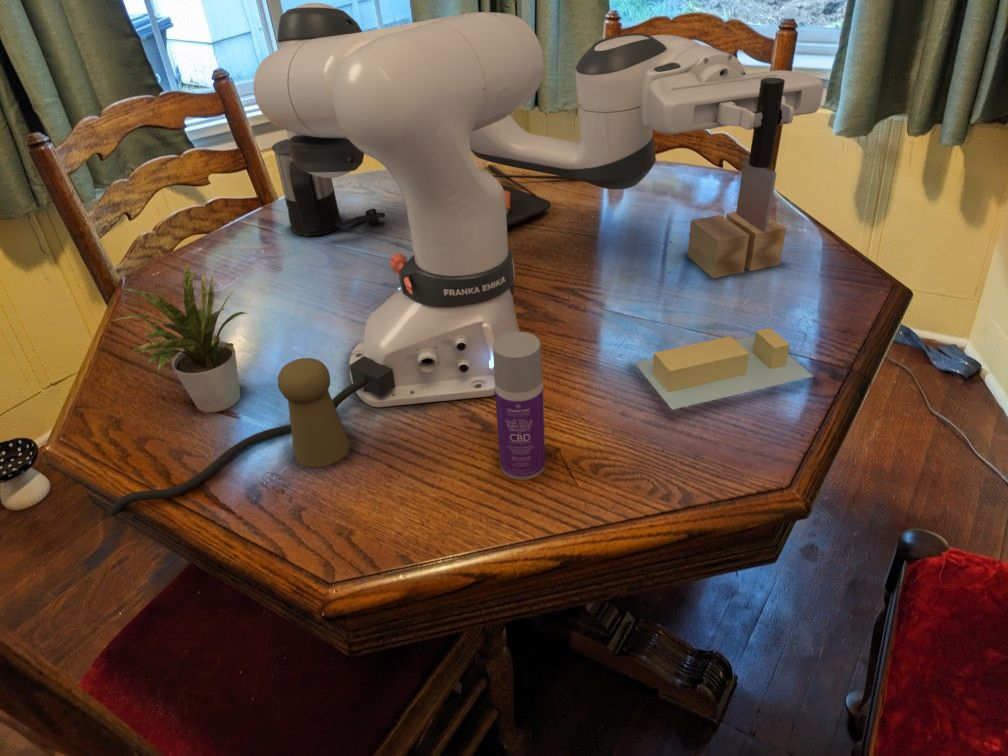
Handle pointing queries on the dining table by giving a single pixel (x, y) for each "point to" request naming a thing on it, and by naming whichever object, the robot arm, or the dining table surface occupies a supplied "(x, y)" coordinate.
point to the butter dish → (728, 380)
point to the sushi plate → (523, 198)
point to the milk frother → (311, 198)
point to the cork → (312, 413)
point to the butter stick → (700, 363)
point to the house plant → (195, 347)
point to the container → (519, 404)
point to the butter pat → (771, 348)
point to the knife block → (734, 245)
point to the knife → (761, 158)
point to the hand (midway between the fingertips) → (771, 119)
